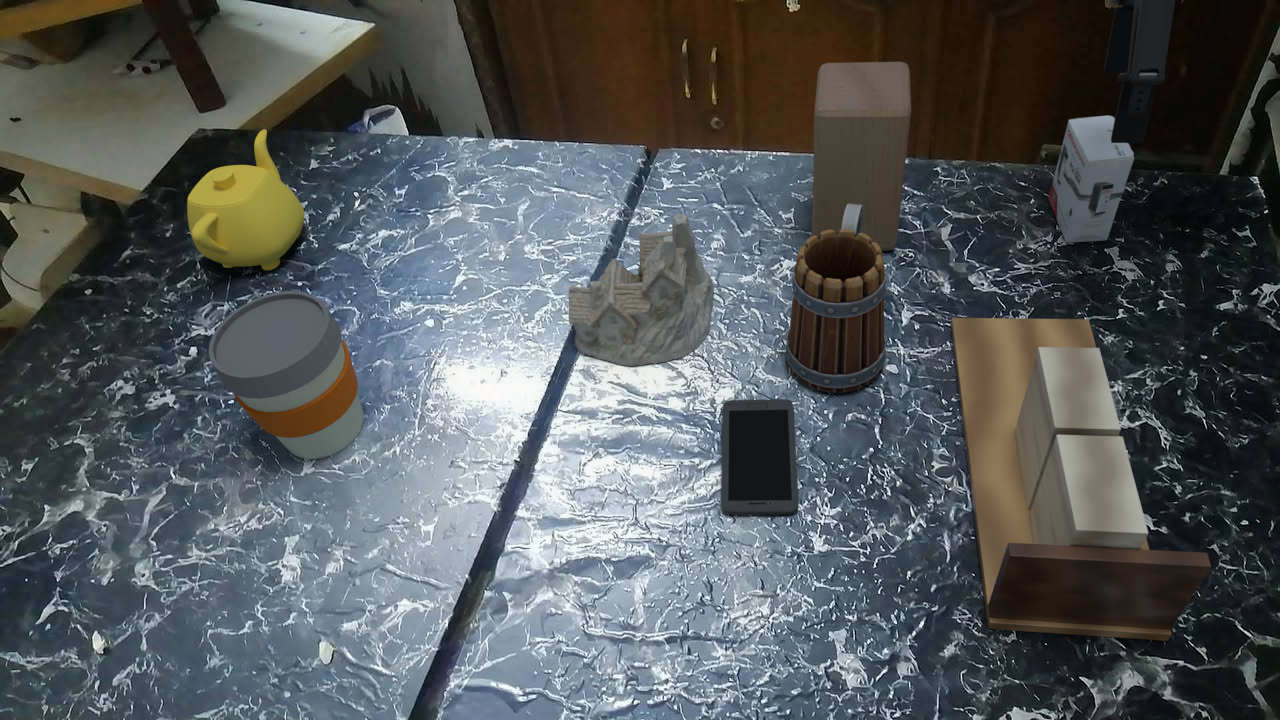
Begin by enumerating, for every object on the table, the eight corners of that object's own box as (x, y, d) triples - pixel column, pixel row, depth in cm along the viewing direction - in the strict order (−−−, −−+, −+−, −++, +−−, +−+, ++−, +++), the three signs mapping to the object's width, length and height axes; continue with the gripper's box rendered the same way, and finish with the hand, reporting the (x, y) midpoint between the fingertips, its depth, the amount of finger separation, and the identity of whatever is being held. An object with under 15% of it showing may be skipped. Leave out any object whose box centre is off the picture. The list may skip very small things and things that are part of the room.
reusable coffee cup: (264, 406, 106) (204, 312, 95) (371, 370, 108) (324, 274, 97) (272, 488, 98) (207, 397, 87) (388, 448, 100) (339, 353, 89)
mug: (877, 404, 96) (887, 299, 85) (776, 387, 99) (774, 284, 88) (898, 301, 105) (910, 195, 94) (805, 289, 108) (807, 185, 98)
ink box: (1045, 199, 114) (1066, 116, 106) (1087, 196, 114) (1111, 112, 105) (1065, 244, 108) (1089, 160, 100) (1109, 241, 108) (1136, 157, 99)
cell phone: (793, 402, 97) (793, 397, 96) (799, 515, 88) (799, 511, 87) (722, 404, 98) (722, 399, 97) (721, 516, 89) (720, 511, 88)
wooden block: (895, 202, 117) (910, 57, 103) (896, 254, 111) (912, 108, 96) (815, 200, 119) (818, 59, 105) (811, 252, 113) (814, 108, 98)
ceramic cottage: (727, 273, 112) (710, 173, 101) (696, 377, 102) (673, 279, 91) (606, 267, 116) (577, 171, 105) (565, 366, 107) (529, 272, 96)
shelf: (1086, 326, 99) (1117, 231, 90) (1167, 641, 76) (1222, 557, 66) (950, 325, 102) (966, 232, 92) (987, 629, 78) (1015, 546, 68)
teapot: (339, 201, 132) (305, 126, 123) (273, 297, 119) (231, 221, 110) (256, 197, 135) (218, 124, 126) (184, 291, 122) (135, 217, 113)
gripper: (1112, -171, 86) (1076, 46, 101) (1130, -68, 70) (1085, 174, 84) (1203, -179, 84) (1154, 44, 98) (1245, -75, 67) (1178, 175, 82)
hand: (1122, 104), depth 91 cm, fingers open, 13 cm apart
